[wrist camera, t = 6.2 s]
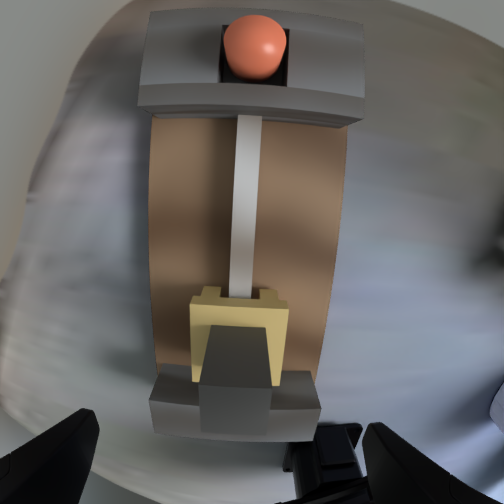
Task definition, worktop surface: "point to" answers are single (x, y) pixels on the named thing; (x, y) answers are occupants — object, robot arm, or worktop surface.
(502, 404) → the soap bottle
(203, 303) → the carriage
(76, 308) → the worktop surface
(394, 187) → the worktop surface
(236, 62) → the orange ball
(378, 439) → the robot arm
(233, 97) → the rail board
